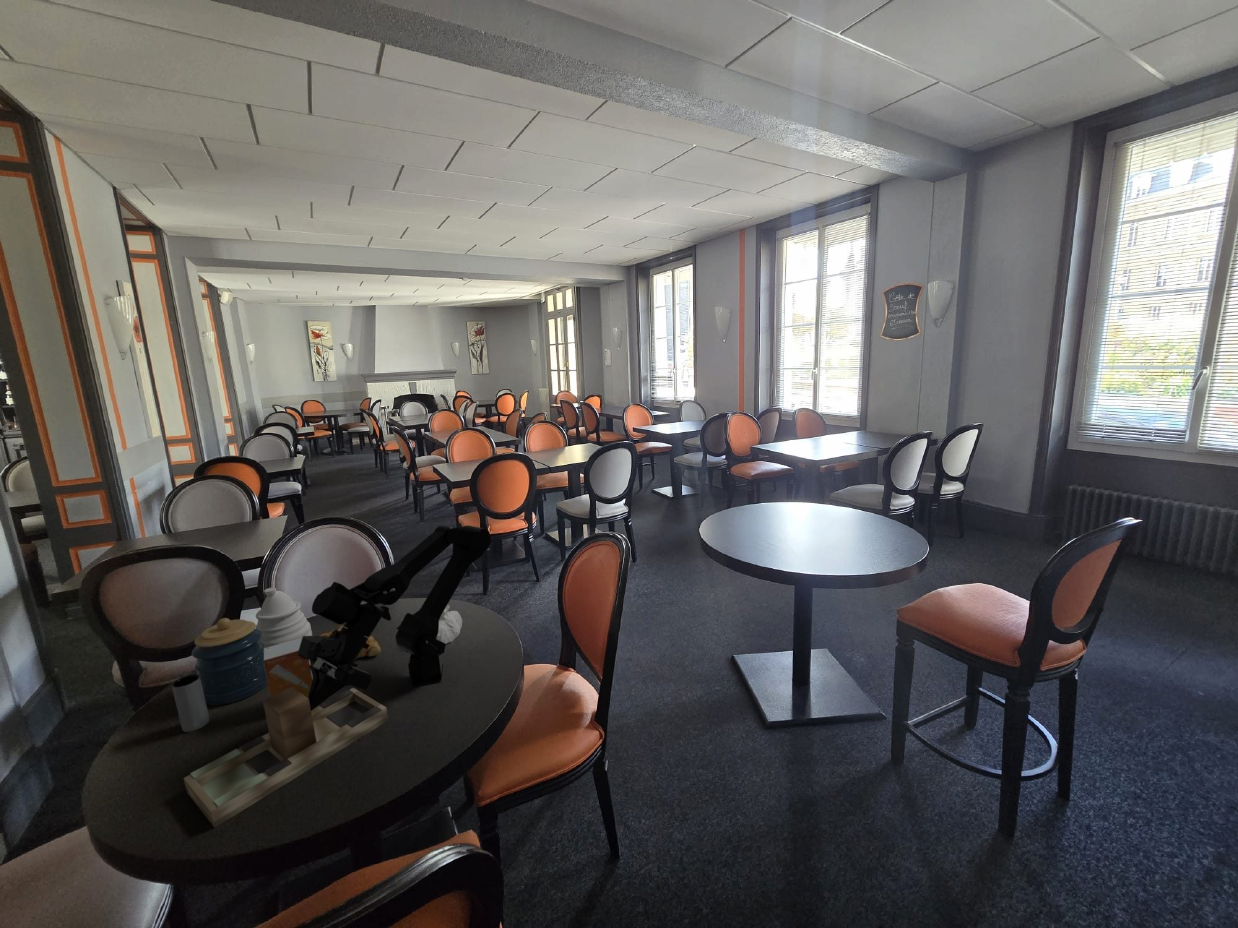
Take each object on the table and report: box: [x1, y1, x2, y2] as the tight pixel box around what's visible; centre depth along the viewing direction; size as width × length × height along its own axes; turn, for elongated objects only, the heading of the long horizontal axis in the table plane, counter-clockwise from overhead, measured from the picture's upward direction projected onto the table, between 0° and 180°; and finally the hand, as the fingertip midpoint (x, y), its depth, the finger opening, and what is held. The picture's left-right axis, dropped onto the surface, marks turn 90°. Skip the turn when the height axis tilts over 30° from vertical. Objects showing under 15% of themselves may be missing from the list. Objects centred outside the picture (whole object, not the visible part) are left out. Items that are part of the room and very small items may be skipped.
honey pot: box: [255, 587, 313, 648], centre depth 137 cm, size 13×13×18 cm
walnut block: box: [262, 687, 316, 759], centre depth 98 cm, size 5×7×10 cm
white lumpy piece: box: [436, 603, 463, 645], centre depth 140 cm, size 12×8×11 cm
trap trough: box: [183, 687, 389, 829], centre depth 99 cm, size 30×13×3 cm, turn 145°
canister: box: [191, 617, 268, 706], centre depth 120 cm, size 13×13×18 cm
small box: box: [264, 638, 313, 698], centre depth 115 cm, size 8×6×13 cm
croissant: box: [319, 625, 381, 659], centre depth 136 cm, size 21×10×8 cm, turn 73°
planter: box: [171, 674, 210, 733], centre depth 109 cm, size 4×4×10 cm
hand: (307, 709), depth 101 cm, fingers closed
